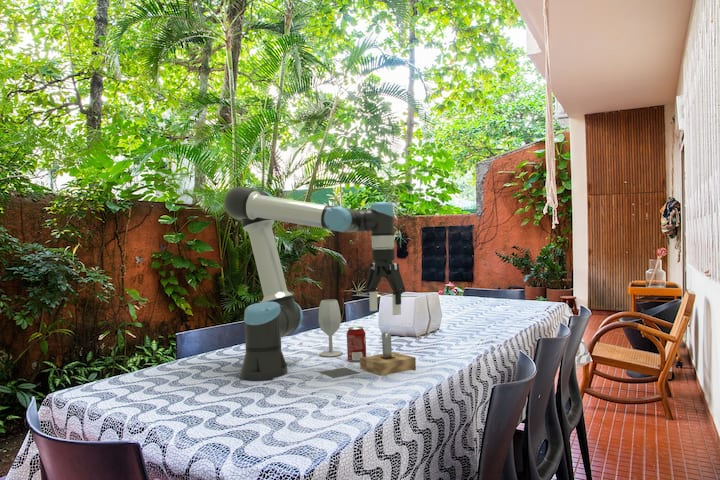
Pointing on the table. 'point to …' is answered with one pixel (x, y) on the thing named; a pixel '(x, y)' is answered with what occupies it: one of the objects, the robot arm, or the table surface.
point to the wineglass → (329, 323)
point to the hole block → (387, 364)
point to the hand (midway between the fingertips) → (384, 312)
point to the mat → (339, 372)
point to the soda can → (356, 344)
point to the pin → (386, 346)
